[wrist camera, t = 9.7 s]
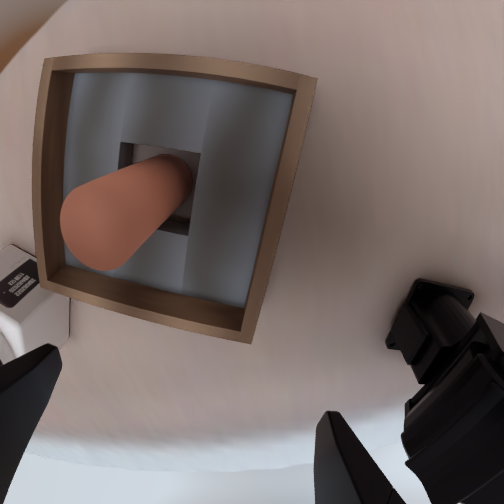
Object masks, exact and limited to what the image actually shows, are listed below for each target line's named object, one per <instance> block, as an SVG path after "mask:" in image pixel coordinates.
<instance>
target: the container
mask: <svg viewBox="0 0 504 504" xmlns="http://www.w3.org/2000/svg"><path fill="white" fill-rule="evenodd" d="M69 302H70V297H67V296H64V295H61V294H58V293H55V292H52V291H49V290H46V289H44V288H41V287H40V282H39V275H38V267H37V259H36V258H35V257H33V256H31V255H29V254H28V253H26V252H24V251H22V250H20V249H18V248H17V247H15V246H13V245H8V246H7V247H5V248H4V249H2V250H1V251H0V366H2V365H4V364H6V363H8V362H10V361H12V360H14V359H16V358H18V357H20V356H22V355H24V354H26V353H28V352H30V351H32V350H34V349H36V348H38V347H40V346H42V345H44V344H46V343H50V344H52V345H55V346H57V347H58V349H59V350H60V349H61V348H62V346H63V345H64V344H65V342H66V341H67V340H68V338H69Z"/></svg>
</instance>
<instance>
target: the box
mask: <svg viewBox="0 0 504 504" xmlns="http://www.w3.org/2000/svg"><path fill="white" fill-rule="evenodd" d="M317 79H318V78H314V77H310V76H306V75H302V74H298V73H294V72H290V71H285V70H280V69H276V68H271V67H266V66H260V65H255V64H249V63H243V62H237V61H230V60H223V59H215V58H207V57H197V56H186V55H172V54H152V53H105V54H85V55H72V56H61V57H52V58H45V59H44V63H43V69H42V74H41V80H40V86H39V92H38V99H37V107H36V116H35V126H34V138H33V156H32V209H33V227H34V240H35V250H36V259H37V267H38V275H39V282H40V287H41V288H44V289H46V290H49V291H52V292H55V293H58V294H61V295H64V296H67V297H70V298H73V299H76V300H79V301H82V302H85V303H88V304H91V305H95V306H98V307H101V308H104V309H108V310H111V311H114V312H118V313H121V314H125V315H128V316H132V317H136V318H139V319H143V320H147V321H150V322H154V323H158V324H162V325H166V326H170V327H174V328H178V329H182V330H186V331H191V332H195V333H199V334H204V335H208V336H213V337H218V338H222V339H227V340H232V341H237V342H242V343H247V344H251V343H252V339H253V336H254V332H255V328H256V325H257V321H258V317H259V314H260V310H261V306H262V302H263V299H264V295H265V291H266V287H267V284H268V280H269V276H270V272H271V269H272V265H273V261H274V257H275V253H276V249H277V245H278V241H279V238H280V234H281V230H282V226H283V222H284V218H285V214H286V210H287V206H288V202H289V198H290V194H291V190H292V186H293V182H294V178H295V173H296V169H297V165H298V161H299V157H300V153H301V149H302V144H303V140H304V136H305V132H306V127H307V123H308V119H309V114H310V110H311V106H312V101H313V97H314V93H315V88H316V84H317ZM133 143H134V144H142V145H149V146H157V147H164V148H171V149H177V150H183V151H190V152H196V153H201V156H200V162H199V168H198V174H197V180H196V186H195V193H194V199H193V206H192V213H191V220H190V224H187V223H182V222H177V221H172V220H167V219H166V220H165V221H164V222H163V223H162V224H161V225H160V226H159V227H158V228H157V229H156V230H155V231H154V232H153V234H152V235H151V236H150V237H149V238H148V239H147V240H146V241H145V242H144V243H143V244H142V245H141V246H140V247H139V248H138V249H137V250H136V252H135V253H134V254H133V255H132V256H131V257H130V258H129V259H128V260H127V261H126V262H125V263H124V264H123V265H122V266H120V267H119V268H116V269H114V270H109V271H100V270H95V269H92V268H90V267H88V266H86V265H84V264H83V263H81V262H80V261H79V260H78V259H77V258H76V257H75V256H74V255H73V254H72V253H71V252H70V250H69V249H68V247H67V245H66V243H65V241H64V239H63V236H62V232H61V227H60V213H61V208H62V205H63V202H64V200H65V199H66V197H67V196H68V194H69V193H70V192H71V191H72V190H74V189H75V188H77V187H79V186H81V185H83V184H86V183H88V182H90V181H93V180H95V179H97V178H100V177H102V176H105V175H107V174H110V173H112V172H115V171H117V170H120V169H122V168H125V167H127V166H130V165H131V159H132V151H133Z"/></svg>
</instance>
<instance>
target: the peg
mask: <svg viewBox="0 0 504 504" xmlns="http://www.w3.org/2000/svg"><path fill="white" fill-rule="evenodd" d="M191 188H192V177H191V173H190V171H189V169H188V167H187V165H186V164H185V163H184V162H183V161H182V160H181V159H179V158H177V157H176V156H173V155H169V154H162V155H157V156H155V157H152V158H149V159H146V160H143V161H141V162H138V163H135V164H133V165H130V166H127V167H125V168H122V169H120V170H117V171H115V172H112V173H110V174H107V175H105V176H102V177H100V178H97V179H95V180H93V181H90V182H88V183H86V184H83V185H81V186H79V187H77V188H75V189H74V190H72V191H71V192H70V193H69V194H68V196H67V197H66V199H65V200H64V202H63V205H62V208H61V213H60V227H61V232H62V236H63V239H64V241H65V243H66V245H67V247H68V249H69V250H70V252H71V253H72V254H73V255H74V256H75V257H76V258H77V259H78V260H79V261H80V262H81V263H83V264H84V265H86V266H88V267H90V268H92V269H95V270H100V271H109V270H114V269H116V268H119V267H120V266H122V265H123V264H124V263H125V262H126V261H127V260H128V259H129V258H130V257H131V256H132V255H133V254H134V253H135V252H136V250H137V249H138V248H139V247H140V246H141V245H142V244H143V243H144V242H145V241H146V240H147V239H148V238H149V237H150V236H151V235H152V234H153V232H154V231H155V230H156V229H157V228H158V227H159V226H160V225H161V224H162V223H163V222H164V221H165V220H166V219H167V218H168V217H169V216H170V215H171V214H172V213H173V212H174V211H175V210H176V209H177V208H178V207H179V206H180V205H181V204H182V203H183V202H184V201H185V200H186V199H187V197H188V196H189V194H190V191H191Z"/></svg>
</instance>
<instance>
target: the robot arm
mask: <svg viewBox="0 0 504 504" xmlns="http://www.w3.org/2000/svg"><path fill="white" fill-rule="evenodd" d="M420 285H422V286H421V287H420V288H418V287H419V286H420ZM468 296H469V297H468ZM473 299H474V293H473V292H472V291H471V290H467V289H463V288H459V287H454V286H450V285H446V284H441V283H437V282H432V281H428V280H424V279H419V280H417V281H416V282H415V283H414V285H413V287H412V289H411V292H410V294H409V296H408V298H407V300H406V302H405V304H404V305H403V307H402V309H401V311H400V313H399V315H398V317H397V319H396V321H395V323H394V325H393V327H392V329H391V332H390V334H389V336H388V338H387V340H386V342H385V344H386V346H387V348H388V349H393V350H401V352H402V354H403V357H404V359H405V361H406V363H407V365H411V368H412V370H413V372H414V374H415V377H416V379H417V381H418V383H419V384H425V385H424V386H423V387H422V388H421V389H420V390H419V391H418V392H417V393H416V395H415V396H414V397H413V398H412V399H409V400H408V401H407V402H406V403H405V420H404V432H403V433H402V434H401V440H402V444H403V447H404V449H405V452H406V454H407V456H408V458H409V460H407V461H406V462H405V465H406V466H407V467H408V468H409V469H410V470H411V471H413V472H414V473H415V474H416V476H417V477H418V478H419V480H420V481H421V482H422V484H423V486H424V488H425V490H426V492H427V495H428V497H429V499H430V502H431V503H432V504H458V503H461V504H504V324H503V323H501V322H499V321H497V320H495V319H493V318H491V317H489V316H487V315H485V314H483V313H481V312H480V314H479V315H478V317H477V318H476V320H475V319H474V317H473V316H472V315H471V314H470V312H469V311H468V308H469V306H470V305H471V303H472V301H473ZM392 342H393V343H392ZM390 343H391V344H390ZM61 369H62V360H61V357H60V353H59V349H58V347H57V346H55V345H52V344H50V343H46V344H44V345H42V346H40V347H38V348H36V349H34V350H32V351H30V352H28V353H26V354H24V355H22V356H20V357H18V358H16V359H14V360H12V361H10V362H8V363H6V364H4V365H2V366H0V504H3V502H4V500H5V497H6V495H7V492H8V489H9V486H10V484H11V481H12V479H13V477H14V474H15V472H16V469H17V467H18V465H19V463H20V460H21V458H22V455H23V453H24V451H25V449H26V447H27V445H28V443H29V440H30V438H31V436H32V434H33V432H34V430H35V428H36V426H37V424H38V422H39V420H40V418H41V416H42V414H43V412H44V410H45V408H46V406H47V404H48V402H49V399H50V397H51V394H52V392H53V389H54V386H55V384H56V381H57V379H58V377H59V374H60V372H61ZM314 487H315V504H406V503H405V502H404V501H403V499H402V498H401V497H400V495H399V494H398V493H397V491H396V490H395V489H394V488H393V486H392V485H391V484H390V482H389V481H388V479H387V478H386V476H385V475H384V474H383V472H382V471H381V470H380V468H379V467H378V465H377V464H376V463H375V462H374V460H373V459H372V457H371V456H370V455H369V453H368V452H367V450H366V449H365V448H364V446H363V445H362V443H361V442H360V441H359V439H358V438H357V436H356V435H355V434H354V432H353V431H352V429H351V428H350V427H349V425H348V424H347V422H346V421H345V420H344V418H343V417H342V415H341V414H340V413H339V412H337V411H326V412H325V413H324V415H323V416H322V418H321V420H320V421H319V423H318V424H317V427H316V439H315V455H314Z"/></svg>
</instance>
